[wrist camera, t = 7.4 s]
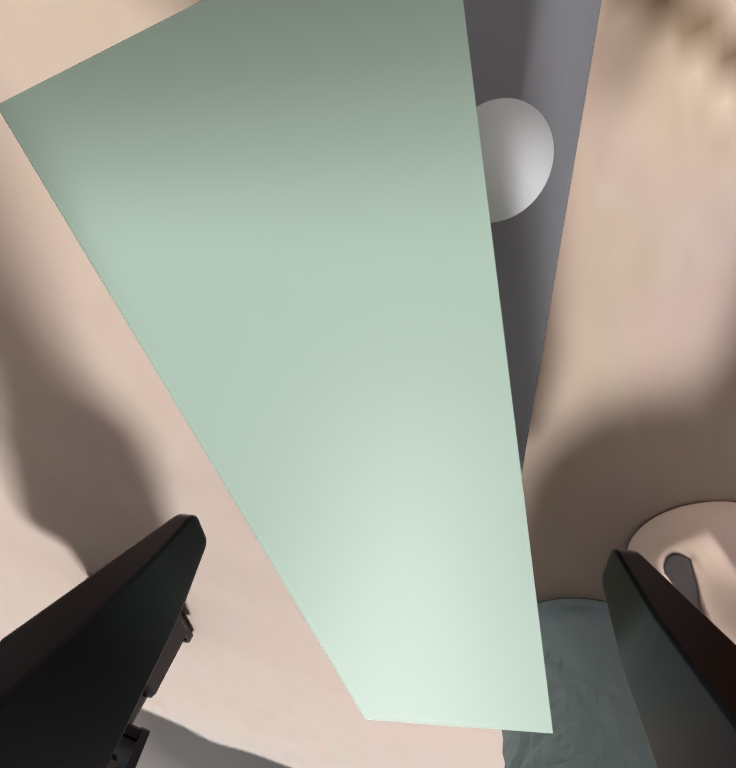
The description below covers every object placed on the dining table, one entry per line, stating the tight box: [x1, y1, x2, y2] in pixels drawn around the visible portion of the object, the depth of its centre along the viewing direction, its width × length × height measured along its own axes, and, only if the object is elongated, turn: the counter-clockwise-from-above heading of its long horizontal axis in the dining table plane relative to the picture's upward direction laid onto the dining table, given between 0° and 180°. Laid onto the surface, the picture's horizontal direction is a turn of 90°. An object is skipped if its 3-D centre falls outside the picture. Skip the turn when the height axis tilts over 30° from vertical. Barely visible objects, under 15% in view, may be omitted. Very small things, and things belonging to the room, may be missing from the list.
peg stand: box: [463, 0, 602, 474], centre depth 13 cm, size 9×21×5 cm, turn 4°
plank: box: [0, 0, 553, 734], centre depth 10 cm, size 6×18×3 cm, turn 16°
